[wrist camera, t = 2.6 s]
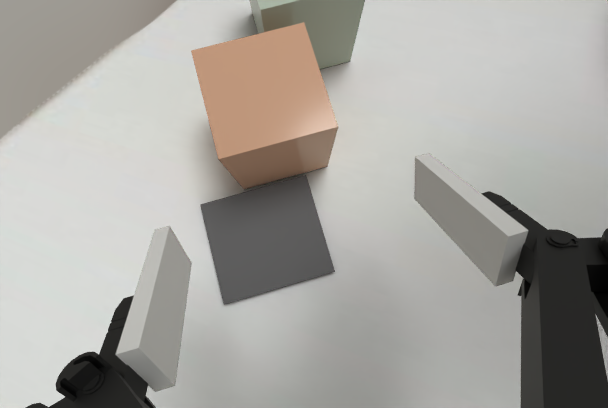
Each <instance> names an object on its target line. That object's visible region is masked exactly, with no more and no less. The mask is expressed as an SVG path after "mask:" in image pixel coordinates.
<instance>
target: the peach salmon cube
mask: <svg viewBox="0 0 608 408" xmlns="http://www.w3.org/2000/svg"><path fill="white" fill-rule="evenodd" d="M191 52H192V56H193V60H194V64H195V68H196V72H197V76H198V80H199V84H200V88H201V91H202V95H203V99H204V103H205V107H206V111H207V115H208V119H209V123H210V127H211V131H212V135H213V139H214V143H215V147H216V151H217V155H218V159H219V160H220V161H221V163H222V164H223V165H224V166H225V167H226V169H227V170H228V171H229V172H230V173H231V174H232V176H233V177H234V178H235V179H236V180H237V182H238V183H239V184H240V185H241V186H242V187H243V189H244V190H245V189H248V188H252V187H255V186H259V185H263V184H266V183H270V182H273V181H277V180H280V179H284V178H288V177H291V176H295V175H298V174H302V173H306V172H309V171H313V170H316V169H320V168H324V167H327V166H328V162H329V159H330V155H331V151H332V148H333V144H334V140H335V137H336V133H337V129H338V124H337V121H336V118H335V115H334V112H333V109H332V106H331V103H330V100H329V97H328V94H327V91H326V88H325V85H324V82H323V78H322V75H321V72H320V69H319V66H318V63H317V60H316V57H315V54H314V51H313V48H312V45H311V42H310V39H309V36H308V33H307V30H306V26H305V23H304V22H303V23H299V24H295V25H291V26H287V27H283V28H279V29H275V30H271V31H268V32H264V33H260V34H256V35H252V36H248V37H244V38H240V39H236V40H232V41H228V42H224V43H220V44H216V45H212V46H208V47H204V48H200V49H196V50H192V51H191Z"/></svg>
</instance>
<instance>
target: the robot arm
mask: <svg viewBox="0 0 608 408" xmlns="http://www.w3.org/2000/svg"><path fill="white" fill-rule="evenodd" d="M414 199H415V200H416V201H417V202H418V203H419V204H420V205H421V207H422V208H423V209H424V210H425V211H426V212H427V213H428V214H429V215H430V216H431V217H432V218H433V220H434V221H435V222H436V223H437V224H438V225H439V226H440V227H441V228H442V229H443V230H444V231H445V233H446V234H447V235H448V236H449V237H450V238H451V239H452V240H453V241H454V242H455V243H456V244H457V246H458V247H459V248H460V249H461V250H462V251H463V252H464V253H465V254H466V255H467V256H468V257H469V259H470V260H471V261H472V262H473V263H474V264H475V265H476V266H477V267H478V268H479V269H480V270H481V272H482V273H483V274H484V275H485V276H486V277H487V278H488V279H489V280H490V281H491V282H492V283H493V285H494V286H499V285H502V284H505V283H508V282H511V281H513V279H514V276H515V273H516V271H517V272H518V273H519V274H520V275H521V276H522V277H523V281H522V284H521V287H520V290H519V293H518V296H521V295H522V302H521V408H608V381H607V376H606V370H605V365H604V359H603V354H602V348H601V343H600V338H599V332H598V327H597V321H596V316H595V314H596V315H597V317H598V319H599V321H600V323H601V325H602V327H603V329H604V331H605V333H606V334H607V336H608V229H606V230H605V231H604V233H603V235H602V237H601V238H577V237H575V236H574V235H572V234H570V233H568V232H565V231H561V230H551V229H549V230H547V229H546V228H544V227H543V226H542V225H540V224H539V223H538V222H536V221H535V220H534V219H532V218H531V217H529V216H528V215H527V214H525V213H524V212H523V211H521V210H518V208H517V207H516V206H514V205H513V204H512V205H511V203H510V202H509V201H507V200H506V199H505V198H503V197H502V196H500V195H497V194H495V193H492V192H485V193H482V194H481V193H480V192H478V191H477V190H476V189H475V188H473V187H472V186H471V185H469V184H468V183H467V182H466V181H464V180H463V179H462V178H460V177H459V176H458V175H457V174H455V173H454V172H453V171H451V170H450V169H449V168H448V167H446V166H445V165H444V164H442V163H441V162H440V161H439V160H437V159H436V158H435V157H433V156H432V155H431V154H430V153H427V154H423V155H420V156H416V157H415V192H414ZM191 264H192V263H191V261H190V259H189V258H188V256H187V254H186V253H185V251H184V249H183V248H182V246H181V244H180V242H179V241H178V239H177V237H176V236H175V234H174V232H173V231H172V229H171V227H170V226H167V227H163V228H160V229H156V230H154V233H153V236H152V240H151V243H150V246H149V249H148V252H147V256H146V259H145V262H144V265H143V268H142V272H141V275H140V278H139V281H138V284H137V288H136V291H135V294H134V296H131V297H127V298H124V299H123V300H122V301H121V303H120V304H119V306H118V307H117V308H116V310H115V312H114V315H113V318H112V320H111V322H112V323H110V326H109V329H108V333H107V334H106V337H105V340H104V343H103V345H102V348H101V351H100V354H97V353H95V352H87V353H84V354H81V355H79V356H78V357H76V358H75V359H73V360H72V361H71V362H70V363H69V364H68V365H67V366H66V367H65V368H64V369H63V370H62V372H61V373H60V375H59V376H58V379H57V382H56V391H58V392H59V393H61V394H62V395H64V396H65V398H63V399H62V400H60V401H58V402H57V403H55V404H53V405H52V406H50V407H47V406H45V405H43V404H41V403H36V404H32V405H30V406H28V407H26V408H156V407H155V406H154V405H153V403H152V402H151V401H150V400H149V399H148V398H147V397H146V392H147V387H148V386H150V387H151V388H152V389H153V390H154V391H155V392H156V391H159V390H163V389H166V388H169V387H172V386H175V383H176V375H177V368H178V360H179V353H180V346H181V338H182V331H183V323H184V316H185V309H186V301H187V294H188V286H189V279H190V272H191Z"/></svg>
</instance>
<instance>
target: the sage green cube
mask: <svg viewBox="0 0 608 408" xmlns="http://www.w3.org/2000/svg"><path fill="white" fill-rule="evenodd" d="M364 2H365V0H250V5H251V10H252V14H253V17H254V21H255V24H256V27H257V31H258V34H260V33H264V32H268V31H271V30H275V29H279V28H283V27H287V26H291V25H295V24H299V23H303V22H304V23H305V26H306V30H307V33H308V36H309V39H310V42H311V45H312V48H313V51H314V54H315V57H316V60H317V63H318V66H319V69H322V68H326V67H330V66H334V65H338V64H341V63H345V62H349V61H350V60H351V55H352V51H353V47H354V43H355V39H356V35H357V31H358V27H359V22H360V18H361V14H362V10H363V6H364Z"/></svg>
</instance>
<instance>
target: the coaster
mask: <svg viewBox="0 0 608 408" xmlns="http://www.w3.org/2000/svg"><path fill="white" fill-rule="evenodd" d="M201 209H202V213H203V218H204V222H205V226H206V230H207V235H208V239H209V243H210V247H211V252H212V256H213V260H214V264H215V269H216V273H217V277H218V281H219V286H220V290H221V294H222V298H223V303H224V304H228V303H231V302H234V301H238V300H241V299H244V298H248V297H251V296H254V295H258V294H261V293H264V292H268V291H271V290H275V289H278V288H281V287H285V286H288V285H291V284H295V283H298V282H301V281H305V280H308V279H311V278H315V277H318V276H322V275H325V274H328V273H332V272H335V270H334V267H333V264H332V260H331V257H330V254H329V250H328V247H327V244H326V240H325V237H324V234H323V230H322V227H321V224H320V220H319V217H318V214H317V210H316V207H315V204H314V200H313V197H312V194H311V190H310V187H309V184H308V180H307V177H306V175H305V176H301V177H298V178H294V179H291V180H287V181H283V182H280V183H276V184H273V185H269V186H265V187H262V188H258V189H255V190H251V191H248V192H244V193H240V194H237V195H233V196H230V197H226V198H222V199H219V200H215V201H212V202H208V203H205V204H201Z"/></svg>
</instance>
